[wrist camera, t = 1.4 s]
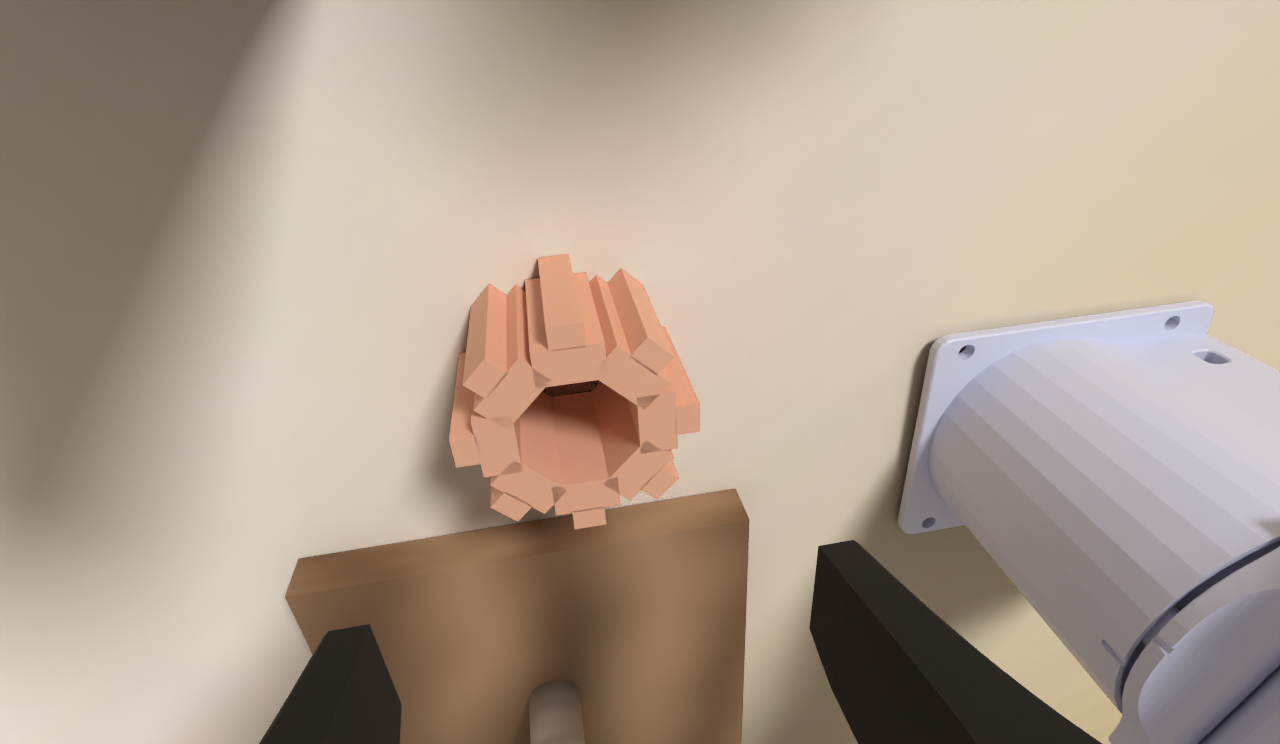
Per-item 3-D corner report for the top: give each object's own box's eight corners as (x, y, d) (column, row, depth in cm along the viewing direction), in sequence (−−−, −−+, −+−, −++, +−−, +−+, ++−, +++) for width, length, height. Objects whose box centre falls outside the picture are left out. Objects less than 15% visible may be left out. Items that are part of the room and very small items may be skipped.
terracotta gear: (661, 243, 18) (698, 307, 14) (669, 420, 21) (701, 508, 17) (440, 269, 17) (423, 342, 14) (481, 448, 20) (475, 545, 17)
